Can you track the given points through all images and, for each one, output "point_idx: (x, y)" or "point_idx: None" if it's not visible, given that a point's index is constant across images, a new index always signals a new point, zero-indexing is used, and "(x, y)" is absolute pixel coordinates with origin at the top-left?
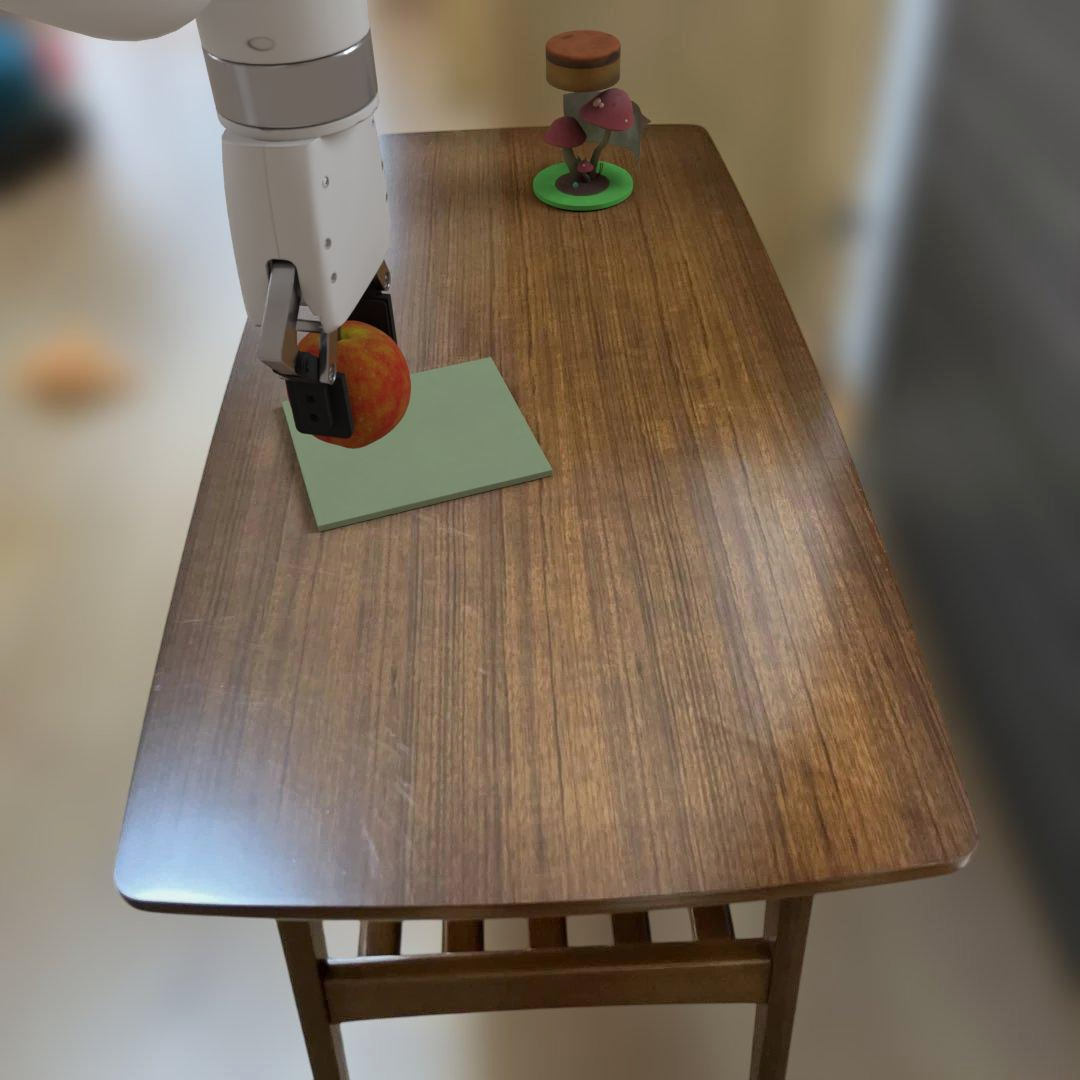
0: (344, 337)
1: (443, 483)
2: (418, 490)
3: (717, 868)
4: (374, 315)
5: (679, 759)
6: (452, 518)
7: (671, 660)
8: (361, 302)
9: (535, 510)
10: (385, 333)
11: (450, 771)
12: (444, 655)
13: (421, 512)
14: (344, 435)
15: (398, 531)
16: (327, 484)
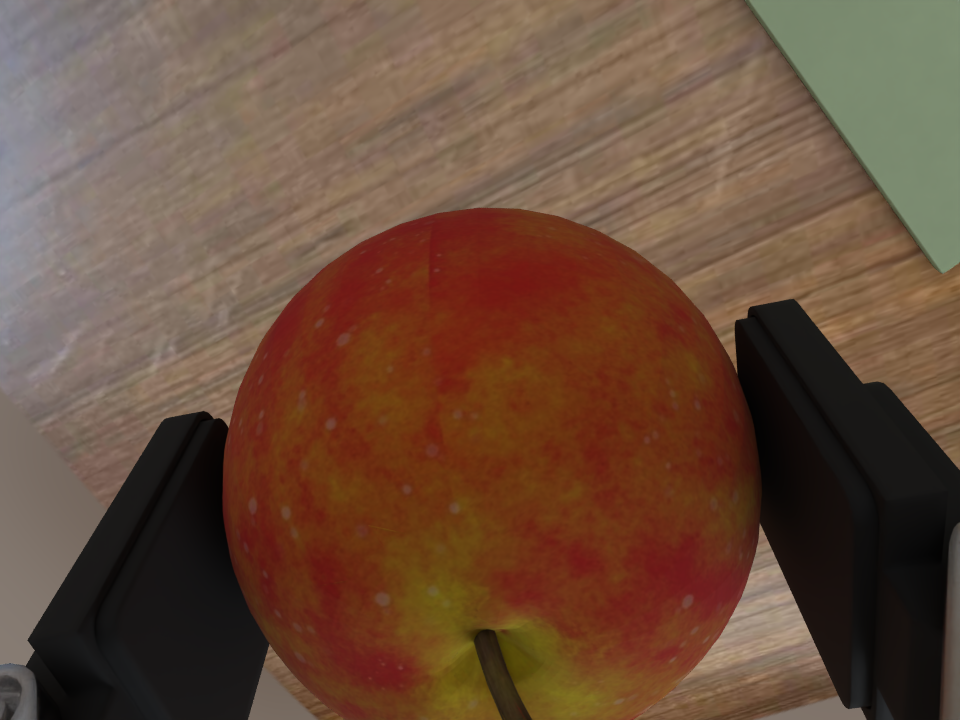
0: (522, 646)
1: (859, 75)
2: (823, 29)
3: (283, 666)
4: (815, 601)
5: None
6: (761, 135)
7: None
8: (847, 612)
9: (821, 277)
10: (781, 560)
11: (227, 391)
12: None
13: (764, 59)
14: None
15: (690, 41)
16: None
